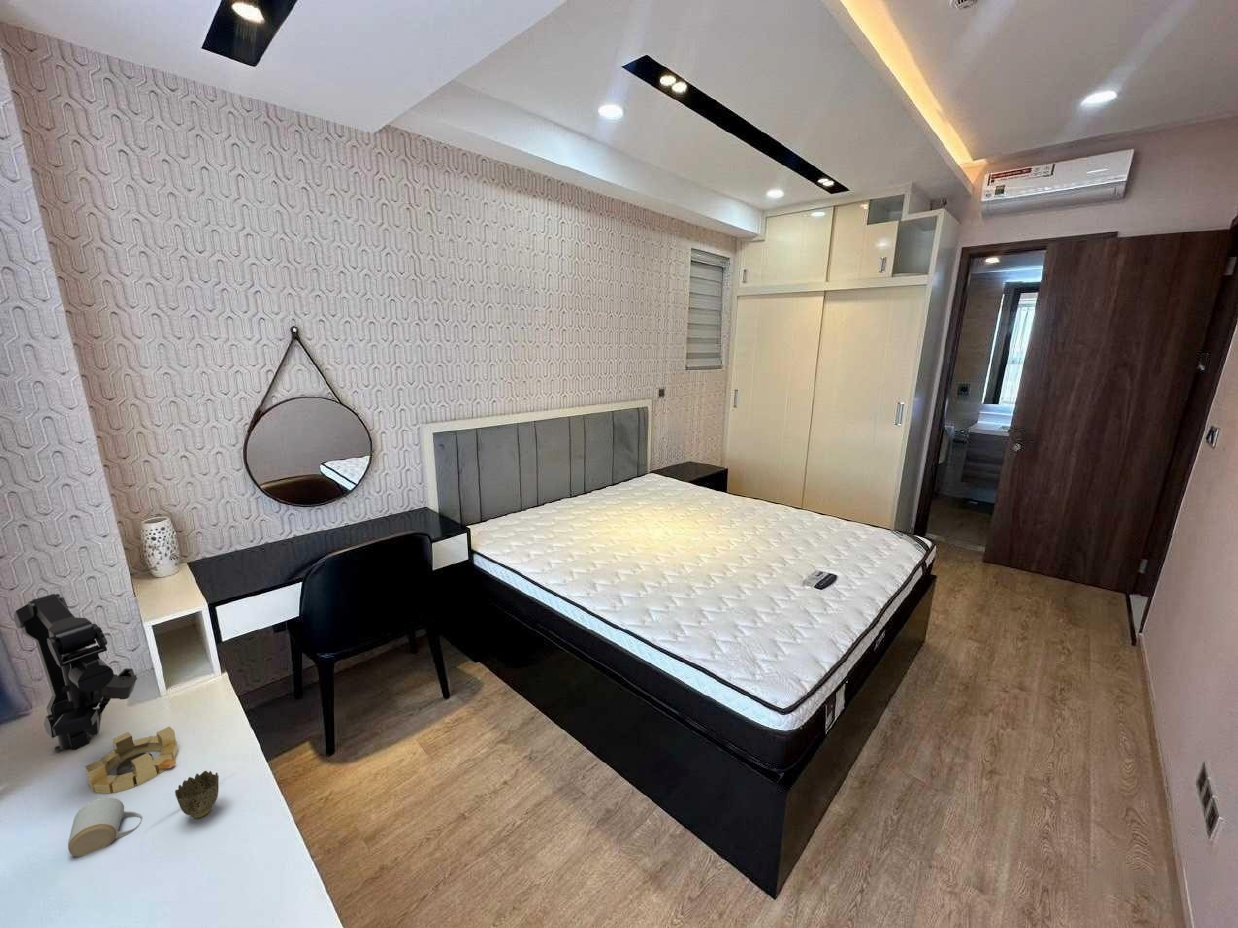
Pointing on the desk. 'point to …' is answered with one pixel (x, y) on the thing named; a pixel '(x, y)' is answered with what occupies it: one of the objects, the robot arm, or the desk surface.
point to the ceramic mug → (98, 826)
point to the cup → (198, 794)
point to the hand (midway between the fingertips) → (95, 734)
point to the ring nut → (133, 761)
